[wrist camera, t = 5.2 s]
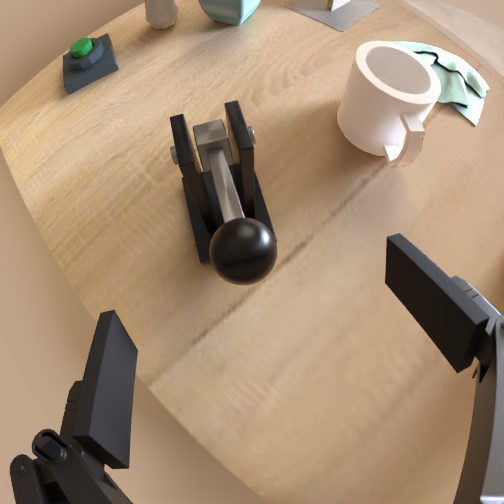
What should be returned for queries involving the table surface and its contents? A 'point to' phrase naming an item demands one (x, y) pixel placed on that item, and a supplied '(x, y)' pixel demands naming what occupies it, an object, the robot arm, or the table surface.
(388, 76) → the mug
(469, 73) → the cloth
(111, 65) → the control block
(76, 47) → the button
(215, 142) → the lever
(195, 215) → the switch bracket
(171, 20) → the salt shaker
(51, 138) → the table surface
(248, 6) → the flower pot
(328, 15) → the platform
